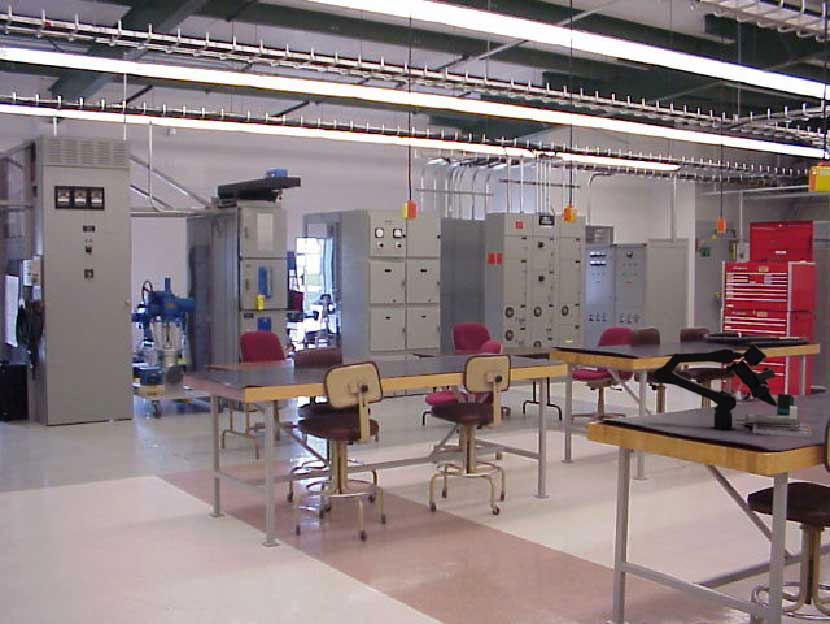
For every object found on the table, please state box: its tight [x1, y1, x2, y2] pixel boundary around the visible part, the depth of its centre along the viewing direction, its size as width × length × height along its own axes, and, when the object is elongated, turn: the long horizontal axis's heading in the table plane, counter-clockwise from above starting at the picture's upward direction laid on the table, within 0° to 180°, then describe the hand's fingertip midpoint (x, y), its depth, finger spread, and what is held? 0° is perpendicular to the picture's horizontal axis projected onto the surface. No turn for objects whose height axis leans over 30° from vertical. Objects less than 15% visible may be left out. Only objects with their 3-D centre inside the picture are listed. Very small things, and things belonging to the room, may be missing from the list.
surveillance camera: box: [776, 393, 795, 416], centre depth 345 cm, size 6×12×10 cm
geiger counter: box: [732, 412, 802, 428], centre depth 331 cm, size 14×6×25 cm
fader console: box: [752, 423, 813, 439], centre depth 319 cm, size 20×11×2 cm, turn 66°
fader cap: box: [790, 406, 798, 430], centre depth 318 cm, size 2×4×8 cm, turn 156°
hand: (776, 405), depth 320 cm, fingers closed
